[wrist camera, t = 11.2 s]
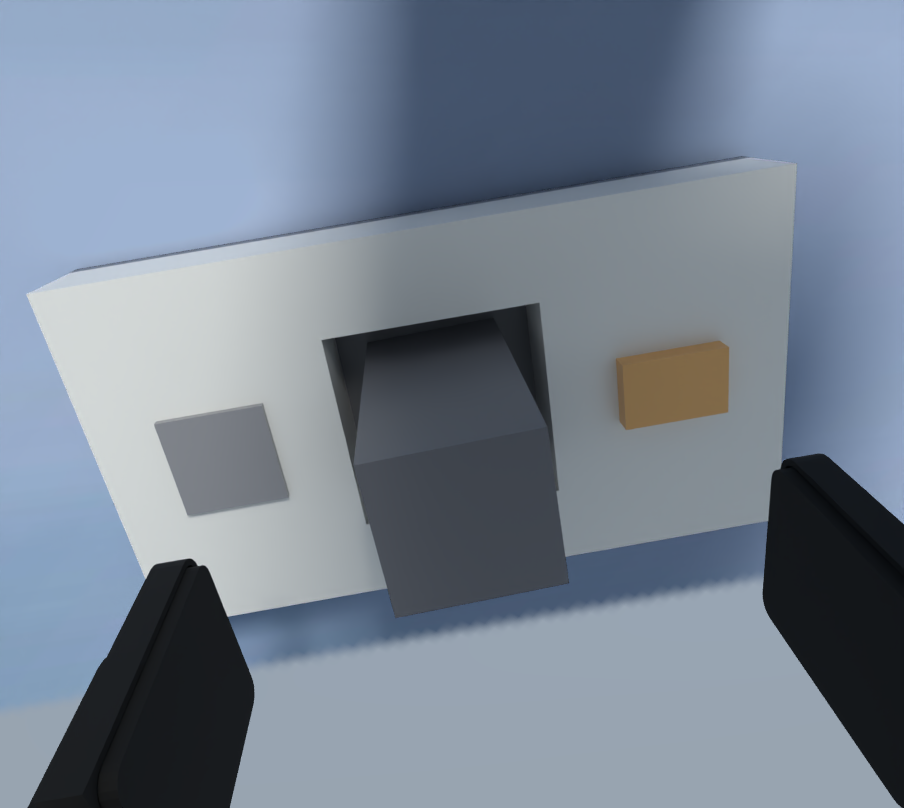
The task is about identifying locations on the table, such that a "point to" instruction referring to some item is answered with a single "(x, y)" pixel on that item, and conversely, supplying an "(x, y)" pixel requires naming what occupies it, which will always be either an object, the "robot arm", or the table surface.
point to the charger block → (456, 470)
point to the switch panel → (426, 308)
